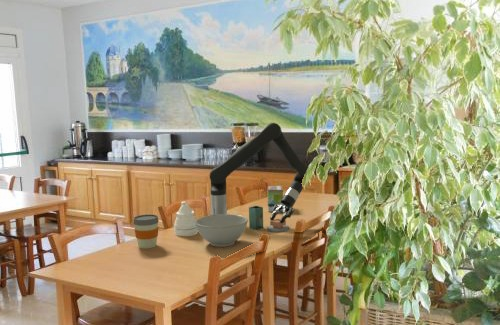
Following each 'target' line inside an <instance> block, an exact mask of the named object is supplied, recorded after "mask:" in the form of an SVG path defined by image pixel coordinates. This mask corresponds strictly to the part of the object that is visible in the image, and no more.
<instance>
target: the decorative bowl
mask: <svg viewBox="0 0 500 325" xmlns="http://www.w3.org/2000/svg"><path fill="white" fill-rule="evenodd" d="M248 221H249V218H247V217H246V216H243V215H238V214H230V213H229V214H228V213H227V214H219V215H206V216H202V217H199V218H197V219H196V221H195V224H196V227H197V230H198V233H199V235H200V236H201V237H202V238H203V239H204V240H205V241H206V242H208V243H209V244H210V245H211V246H213V247H217V248H218V247H220V248H221V247H222V248H224V247H229V246H232V245H234V244H235V242H236V241H237V240H239V239H240V237H241V236H243V234H244V232H245V230H246V228H247V226H248V223H249V222H248Z"/></svg>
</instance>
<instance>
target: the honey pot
mask: <svg viewBox="0 0 500 325" xmlns="http://www.w3.org/2000/svg"><path fill="white" fill-rule="evenodd" d="M180 203H181V205H180V208H179V209H178V211H177V212H175V214H176V218H175V221H174V225H173V229H174V236H177V237H189V236H190V237H191V236H195V235H196V234H198V233H199V232H198V230H197V227H196V224H195V221H196V220H197V219H196V216H195V215H194V214H195V211H194V210H192V208H191V207H190V206H189V205H188V204H187V202H186V201H180Z"/></svg>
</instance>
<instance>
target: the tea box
mask: <svg viewBox="0 0 500 325" xmlns="http://www.w3.org/2000/svg"><path fill="white" fill-rule="evenodd" d="M266 194H267V210H268V212H270V213H272V212H271V210H272V209H273V207H274V205H275V204H277V205H279V204H280V203H281V199H282V198H283V196H284V190H283V186H282V185H268V186H267V193H266ZM278 211H279V210H278Z"/></svg>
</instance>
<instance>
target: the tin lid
mask: <svg viewBox="0 0 500 325" xmlns="http://www.w3.org/2000/svg"><path fill="white" fill-rule="evenodd" d="M280 220H281V218H276V219H275V218H274V220H269V224H270V225H269V226H271V225H272V226H273V228H277V229H279V228H283V226H284V225H286V226H287V223H286V222H287V220H286V219H285V221H284V222H283V223H281V222H280Z"/></svg>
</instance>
